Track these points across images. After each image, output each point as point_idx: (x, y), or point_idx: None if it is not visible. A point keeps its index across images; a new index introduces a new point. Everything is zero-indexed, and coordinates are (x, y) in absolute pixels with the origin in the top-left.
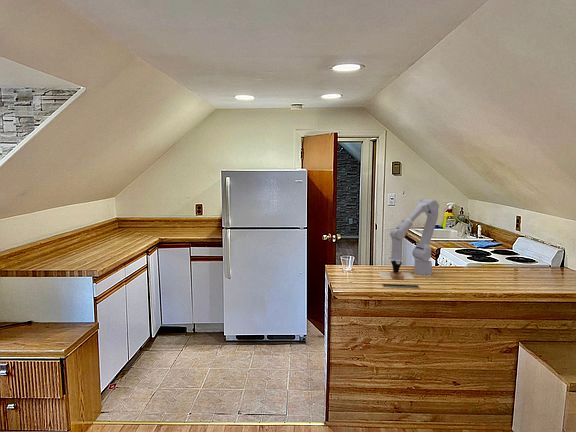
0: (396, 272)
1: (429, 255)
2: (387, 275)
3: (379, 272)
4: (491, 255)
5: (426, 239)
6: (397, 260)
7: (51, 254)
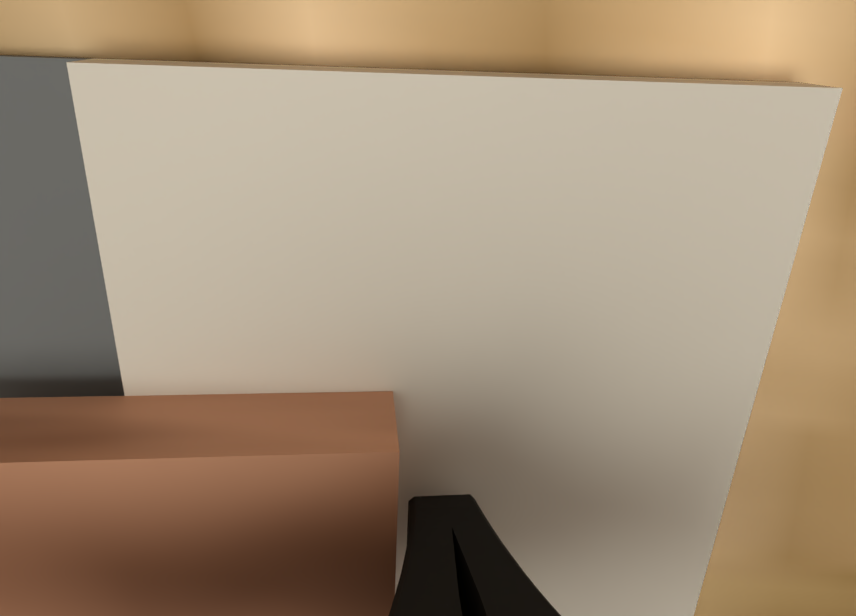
0: (368, 586)
1: None
2: (391, 313)
3: (739, 118)
4: None
5: None
6: None
7: None
